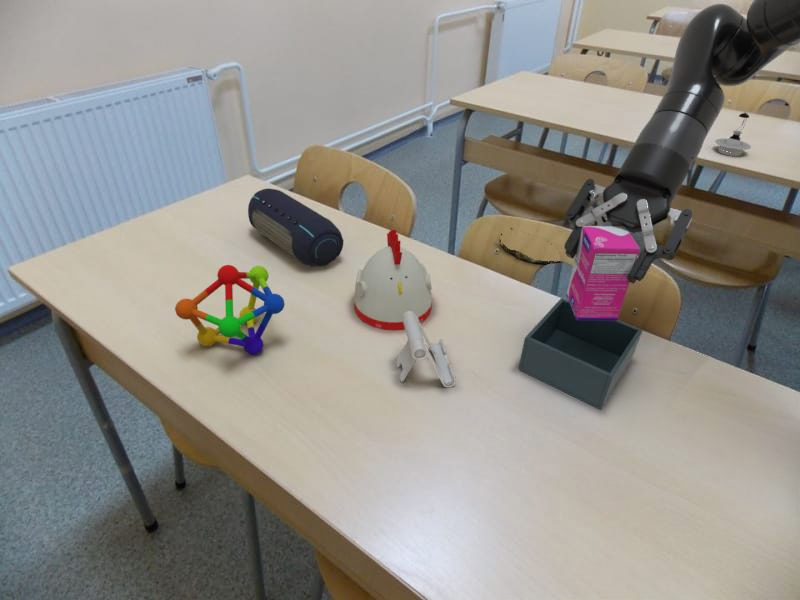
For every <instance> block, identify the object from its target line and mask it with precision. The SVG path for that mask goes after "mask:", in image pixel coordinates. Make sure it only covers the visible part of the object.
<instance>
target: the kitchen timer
mask: <svg viewBox="0 0 800 600" xmlns="http://www.w3.org/2000/svg"><path fill="white" fill-rule="evenodd" d="M386 236H387V237H386V241H387V242H386V243H387V246H385V247H383V248H381V249H379V250H377V251H376V252H375V253H374V254H373V255H372V256H371V257H369V259H368V260H367V262H366V263H365V264H364V267H363V268H362V269H360V268H359V269H358V270H357V272H356V273H357V274H356V280H355V286H354V300H353V301H354V312H355V313H356V316H357V317H358V318H359V319H360V320H361V321H362V322H363V323H365V324H367V325H369V326H371V327H372V328H377V329H381V330H387V331H401V330H405V327H404V323H403V319H402V315H403V314H404V313H405V312H407V311H413V312H414V313H415V314H416V316H417V317H418V319H419V322H420V324H422V323H423V322H425V321H426V320H427V319H428V317H430V315H431V312H432V308H433V307H432V306H433V296H432V281H431V274H429V272H428V270H427V269H426V266H425V265H424V264H423V263H421V262H420V261H419V259H418V258H417V257H416V256H415V254H413V252H411V251H410V250H408V249H406V248H404V247H402V246H401V240H399V234H398V233H397V229H390V230H388V233H386Z"/></svg>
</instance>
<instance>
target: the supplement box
mask: <svg viewBox="0 0 800 600" xmlns="http://www.w3.org/2000/svg"><path fill="white" fill-rule="evenodd" d="M640 250H641V248H640V246H639V245H638V243H637V242H636V239H634V237H633V235H632V234H631V232H630V231H628V230H627V228H626V227H624V226H612V225H603V226H583V227H582V231H581V235H580V240H579V244H578V248H577V252H576V255H575V257H574V261H573V265H572V270H571V273H570V274H571V275H570V277H569V281H568V286H567V290H566V293H565V295H566V298H567V300H568V301H569V302H570V305H571V307H572V310H573V313H574V316H575V319H576V320H595V321H617V320H619V316H620V313H621V310H622V307H623V303H624V300H625V297H626V294H627V291H628V288H629V286H630V282H628V279H627V277H628V274H629V273H630V271H631V269H632V267H633V265H634V264H635V262H636V260H637V258H638V257H639V255H640V252H641V251H640Z"/></svg>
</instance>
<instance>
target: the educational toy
mask: <svg viewBox="0 0 800 600" xmlns="http://www.w3.org/2000/svg"><path fill="white" fill-rule="evenodd" d="M216 276H217V279H216V280H215V281H214V282H213V283H211V284H210V285H209V286H208V287H206V288H205V289H204V290H203V291H201V292H200V293H198V294H197V296H195V297H194V298H193V299H191V298H182V299H180V300H179V301H177V302H176V304H175V307H174V311H175V313H176V316H177V317H178V318H180V319H182V320H189V321H191V323H192V324H193V326H194V327H195V328H196V330H197V331H198V332H197V336H196V339H197V342H198V343H199V344H200V345H201V346H203V347H211V346H213V345H215V344H216V343H217V342H218V343H222V344H228V345H233V346H239V347H243V350H244V352H246V353H247V354H248V355H250V356H251V355H252V356H255V355H258V354H260V353H261V352H262V350H263V349H264V340H263V339H262V336H263V334H264V332H265V330H266V328H267V326H268V324H269V322H270V321H271V319H272V317H273V315H277V314H280V313H281V312H282V311H283V310H284V308H285V305H286V304H285V299H284V297H282V296H281V295H280V294H278V293H273V292H272V290H271V288H270V287H269V284H268V283H267V282H268V279H269V271H268V269H266V268H265V267H264V266H261V265H255V266H253V267H252V268H251V269H250V270H249V271H239V269H237V267H236V266H234V265H231V264H225V265H223V266H221V267H220V268H219V269H218V271H217V275H216ZM245 279H246V280H248V279H249V280H250V282H251V283H253V284H252V285H251V284H250V283H248V282H247V281H245ZM234 285H237V286H238V287H240V288H241V289H243V290H245V291H246V292H248V293H250V296H249V300H248V305H247V306H244V307H243V308H242V309H240V312H239V315H238V316H237V317H236V316H234V296H233V295H234V293H233V290H234V289H233V286H234ZM222 286H224V295H225V298H224V299H225V300H224V301H225V302H224V303H225V316H224V317H223V318H219V317H216V316H214V315H211V314H209V313H206V312H204V311H202V310H199V309H198V305H199V304H201V303H202V302H203V301H204V300H206V299H207V298H208V297H209V296H210V295H212V294H213V293H214V292H216V291H217V290H218V289H219V288H220V287H222ZM260 287H261V290H262V291H263V292H262V291H261V290H259V289H260ZM257 299H258V300H260V301H262V302H263V305H261V306H259V307H258V308H256V307H255V306H256V302H257ZM263 314H264V315H263ZM261 315H263V317H262V319H261V322H260V324H259V325H258V327H257V329H256V330H255V323H256V322H257V321H258V319H259V316H261ZM200 319H201V320H202V321H206V322H207V323H210V324H212V325H215V326H218V327H216V328H213V327H211V326H204V324H203V323H202V322H201V320H200ZM243 324H245V325H246V326H247V333H248V335H247V334H246V333H244V332H243V331H242V325H243ZM220 334H221V335H220ZM236 337H237V338H236Z"/></svg>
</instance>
